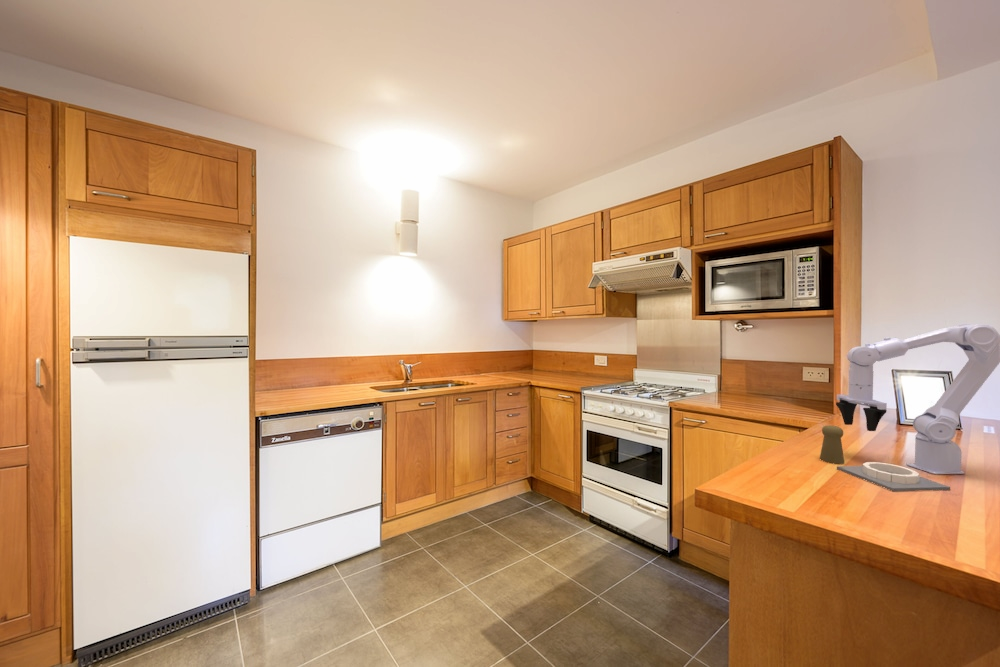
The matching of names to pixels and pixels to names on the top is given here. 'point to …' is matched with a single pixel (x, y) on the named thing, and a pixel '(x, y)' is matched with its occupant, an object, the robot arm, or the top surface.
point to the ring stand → (892, 477)
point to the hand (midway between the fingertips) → (859, 427)
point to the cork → (832, 445)
